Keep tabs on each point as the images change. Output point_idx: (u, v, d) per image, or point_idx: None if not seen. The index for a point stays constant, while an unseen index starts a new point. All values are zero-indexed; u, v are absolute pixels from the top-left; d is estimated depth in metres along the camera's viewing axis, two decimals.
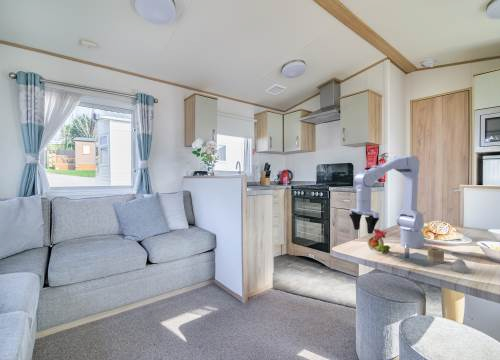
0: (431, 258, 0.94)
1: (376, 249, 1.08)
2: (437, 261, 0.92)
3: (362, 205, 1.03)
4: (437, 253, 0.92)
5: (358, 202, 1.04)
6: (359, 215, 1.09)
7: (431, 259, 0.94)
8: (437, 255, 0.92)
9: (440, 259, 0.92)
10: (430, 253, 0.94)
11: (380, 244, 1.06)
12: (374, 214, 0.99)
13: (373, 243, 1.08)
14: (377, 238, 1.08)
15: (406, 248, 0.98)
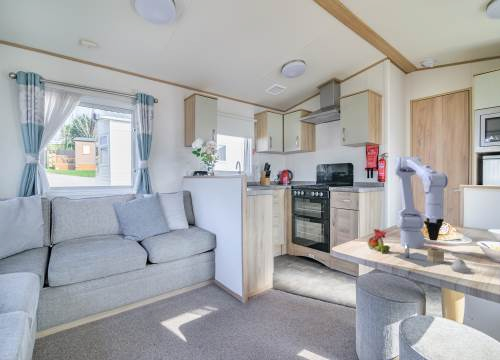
0: (431, 258, 0.94)
1: (376, 249, 1.08)
2: (437, 261, 0.92)
3: (426, 208, 0.95)
4: (437, 253, 0.92)
5: (425, 205, 0.96)
6: (438, 221, 0.97)
7: (431, 259, 0.94)
8: (437, 255, 0.92)
9: (440, 259, 0.92)
10: (430, 253, 0.94)
11: (380, 244, 1.07)
12: (429, 218, 0.90)
13: (373, 243, 1.09)
14: (377, 238, 1.08)
15: (406, 248, 0.98)
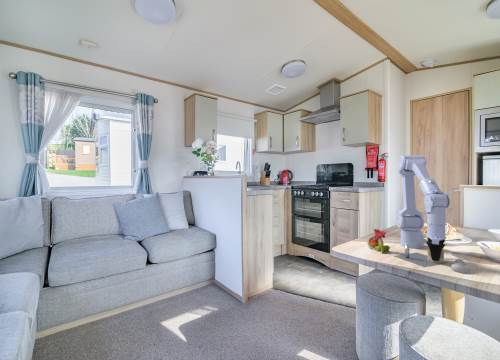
0: (431, 258, 0.94)
1: (376, 249, 1.08)
2: (437, 261, 0.92)
3: (428, 228, 0.95)
4: None
5: (427, 225, 0.96)
6: (440, 241, 0.96)
7: (431, 259, 0.94)
8: None
9: (440, 259, 0.92)
10: (430, 253, 0.94)
11: (380, 244, 1.07)
12: (432, 240, 0.90)
13: (373, 243, 1.08)
14: (377, 238, 1.08)
15: (406, 248, 0.98)
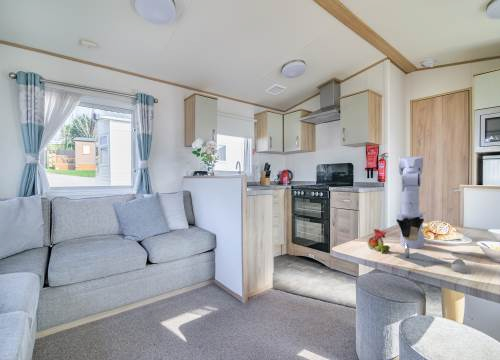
0: None
1: (376, 249, 1.08)
2: (408, 238, 0.96)
3: (402, 206, 0.99)
4: None
5: None
6: (417, 220, 0.98)
7: None
8: None
9: (411, 236, 0.96)
10: None
11: (380, 244, 1.07)
12: None
13: (373, 243, 1.09)
14: (377, 238, 1.08)
15: (406, 248, 0.98)
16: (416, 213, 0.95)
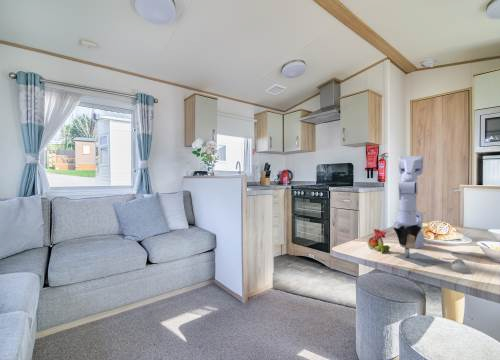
0: None
1: (376, 249, 1.08)
2: (405, 246, 0.97)
3: (399, 214, 1.00)
4: None
5: None
6: (414, 228, 0.98)
7: None
8: None
9: (408, 244, 0.96)
10: None
11: (380, 244, 1.07)
12: None
13: (373, 243, 1.09)
14: (377, 238, 1.08)
15: (406, 248, 0.98)
16: (413, 221, 0.95)
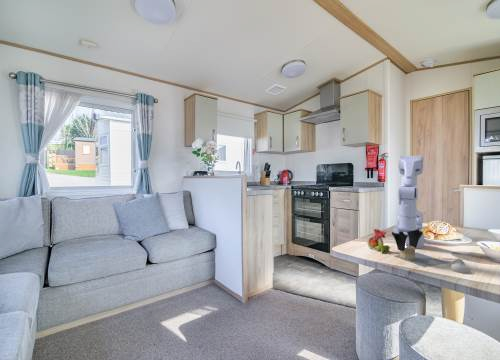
0: (401, 254, 0.99)
1: (376, 249, 1.08)
2: (404, 257, 0.97)
3: (399, 219, 1.00)
4: (405, 249, 0.97)
5: None
6: (416, 233, 0.99)
7: (401, 255, 0.99)
8: (405, 251, 0.97)
9: (408, 255, 0.96)
10: None
11: (380, 244, 1.07)
12: None
13: (373, 243, 1.09)
14: (377, 238, 1.08)
15: None
16: (413, 226, 0.96)
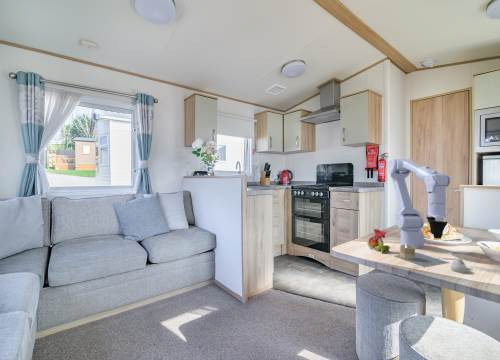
0: (401, 254, 0.99)
1: (376, 249, 1.08)
2: (404, 257, 0.97)
3: (430, 207, 0.98)
4: (405, 249, 0.97)
5: None
6: None
7: (401, 255, 0.99)
8: (405, 251, 0.97)
9: (408, 255, 0.96)
10: (400, 249, 0.99)
11: (380, 244, 1.07)
12: (435, 217, 0.93)
13: (373, 243, 1.09)
14: (377, 238, 1.08)
15: None
16: None
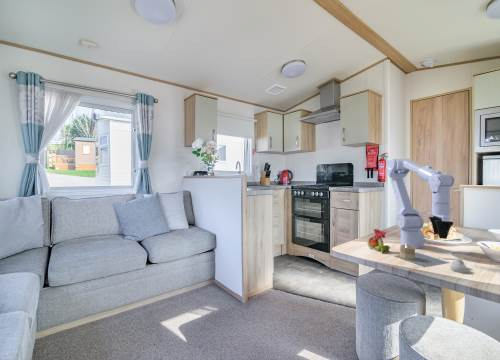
0: (401, 254, 0.99)
1: (376, 249, 1.08)
2: (404, 257, 0.97)
3: (434, 207, 0.97)
4: (405, 249, 0.97)
5: (432, 204, 0.99)
6: (441, 219, 1.01)
7: (401, 255, 0.99)
8: (405, 251, 0.97)
9: (408, 255, 0.96)
10: (400, 249, 0.99)
11: (380, 244, 1.07)
12: (442, 217, 0.92)
13: (373, 243, 1.09)
14: (377, 238, 1.08)
15: None
16: (449, 213, 0.96)
